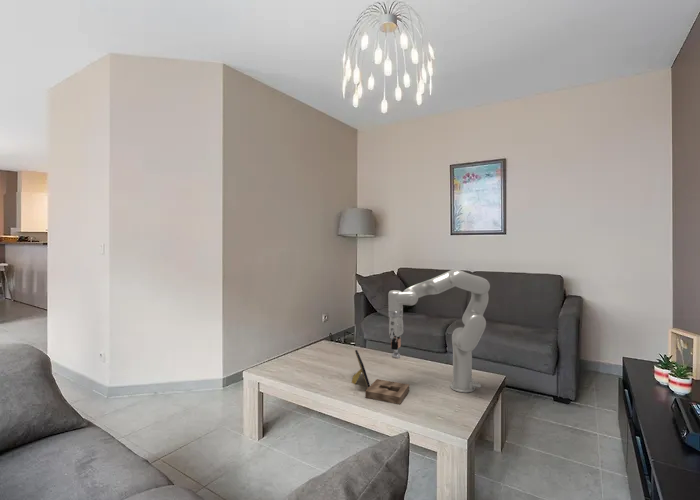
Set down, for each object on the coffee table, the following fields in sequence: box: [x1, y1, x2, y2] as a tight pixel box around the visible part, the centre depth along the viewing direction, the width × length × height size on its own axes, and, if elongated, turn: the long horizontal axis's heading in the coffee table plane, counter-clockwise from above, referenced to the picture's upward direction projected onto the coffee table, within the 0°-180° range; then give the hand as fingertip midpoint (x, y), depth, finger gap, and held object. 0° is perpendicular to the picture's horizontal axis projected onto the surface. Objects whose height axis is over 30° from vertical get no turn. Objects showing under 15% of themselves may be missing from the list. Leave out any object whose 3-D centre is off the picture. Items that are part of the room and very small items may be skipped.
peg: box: [391, 337, 402, 360], centre depth 187 cm, size 4×4×10 cm
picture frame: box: [351, 349, 371, 389], centre depth 194 cm, size 23×9×15 cm, turn 7°
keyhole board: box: [364, 378, 410, 405], centre depth 179 cm, size 18×16×4 cm
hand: (396, 347), depth 187 cm, fingers closed on peg, 4 cm apart
